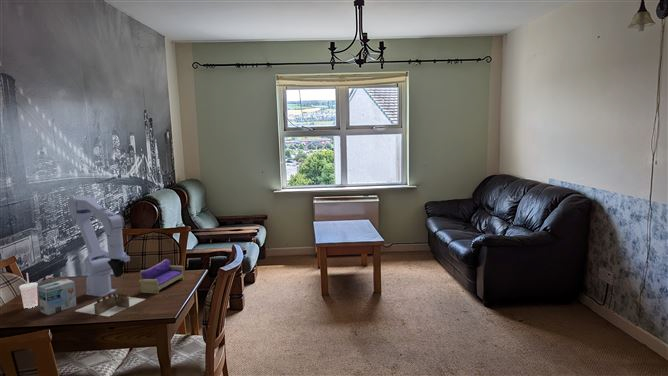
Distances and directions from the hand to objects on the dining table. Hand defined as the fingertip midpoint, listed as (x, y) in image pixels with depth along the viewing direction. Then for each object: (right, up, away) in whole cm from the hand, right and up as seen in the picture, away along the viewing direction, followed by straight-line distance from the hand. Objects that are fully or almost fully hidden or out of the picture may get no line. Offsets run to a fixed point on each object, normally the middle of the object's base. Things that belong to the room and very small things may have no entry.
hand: (118, 276), depth 174 cm
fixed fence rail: (+6, -10, -8) cm, 15 cm away
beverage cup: (-34, -12, -4) cm, 36 cm away
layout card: (0, -11, -6) cm, 12 cm away
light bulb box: (-19, -12, -8) cm, 24 cm away
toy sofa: (+12, -8, +16) cm, 22 cm away
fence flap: (+1, -10, -11) cm, 15 cm away
